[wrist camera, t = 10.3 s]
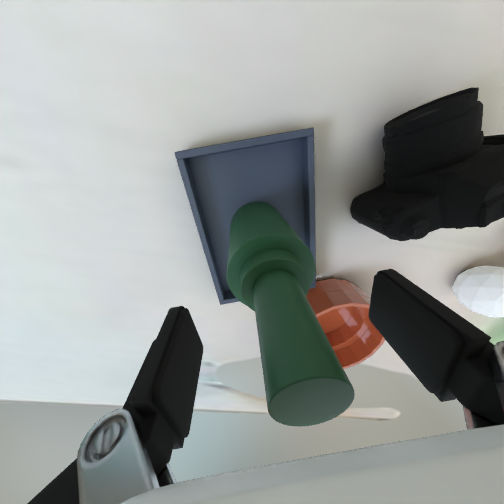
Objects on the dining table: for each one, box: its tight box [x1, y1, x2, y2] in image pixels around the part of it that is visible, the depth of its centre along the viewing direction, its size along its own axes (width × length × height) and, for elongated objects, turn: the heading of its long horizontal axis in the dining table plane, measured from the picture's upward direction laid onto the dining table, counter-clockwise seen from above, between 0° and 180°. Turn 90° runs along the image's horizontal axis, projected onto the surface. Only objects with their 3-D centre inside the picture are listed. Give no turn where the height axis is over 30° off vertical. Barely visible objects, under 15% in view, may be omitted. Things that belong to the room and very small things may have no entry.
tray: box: [175, 128, 316, 305], centre depth 21 cm, size 17×12×2 cm
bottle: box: [227, 202, 354, 426], centre depth 14 cm, size 6×6×18 cm
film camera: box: [350, 88, 504, 241], centre depth 16 cm, size 15×10×9 cm, turn 116°
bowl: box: [306, 279, 385, 369], centre depth 26 cm, size 12×12×6 cm
